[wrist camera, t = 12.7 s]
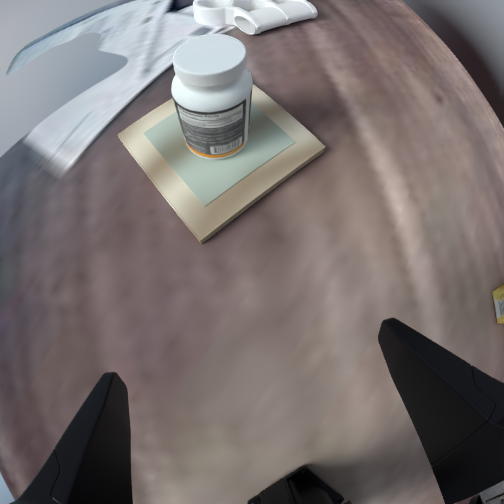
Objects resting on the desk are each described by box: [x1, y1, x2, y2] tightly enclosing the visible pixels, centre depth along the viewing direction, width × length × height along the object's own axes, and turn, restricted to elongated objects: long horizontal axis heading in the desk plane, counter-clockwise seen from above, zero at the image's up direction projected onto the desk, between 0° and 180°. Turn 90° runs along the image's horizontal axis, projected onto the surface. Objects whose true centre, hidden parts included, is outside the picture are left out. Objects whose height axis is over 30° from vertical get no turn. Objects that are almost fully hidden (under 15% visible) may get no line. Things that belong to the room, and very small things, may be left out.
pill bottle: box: [172, 34, 253, 160], centre depth 20 cm, size 6×6×10 cm
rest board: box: [118, 84, 325, 244], centre depth 25 cm, size 14×14×1 cm
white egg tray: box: [193, 0, 318, 35], centre depth 31 cm, size 3×18×15 cm
